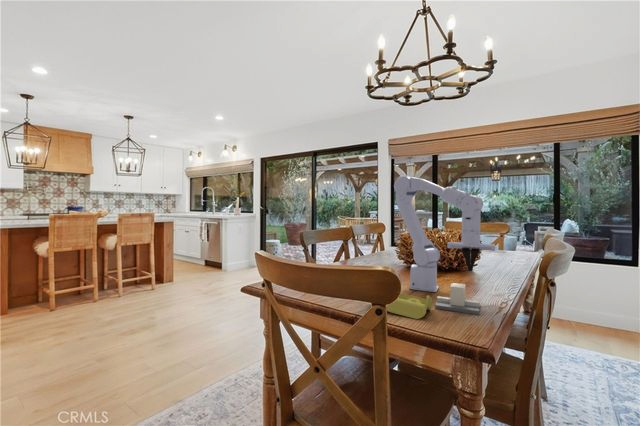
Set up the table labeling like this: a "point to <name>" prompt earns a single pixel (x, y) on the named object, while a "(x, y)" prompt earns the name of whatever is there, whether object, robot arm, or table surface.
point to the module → (457, 294)
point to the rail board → (468, 308)
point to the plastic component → (410, 306)
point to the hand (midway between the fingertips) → (470, 270)
